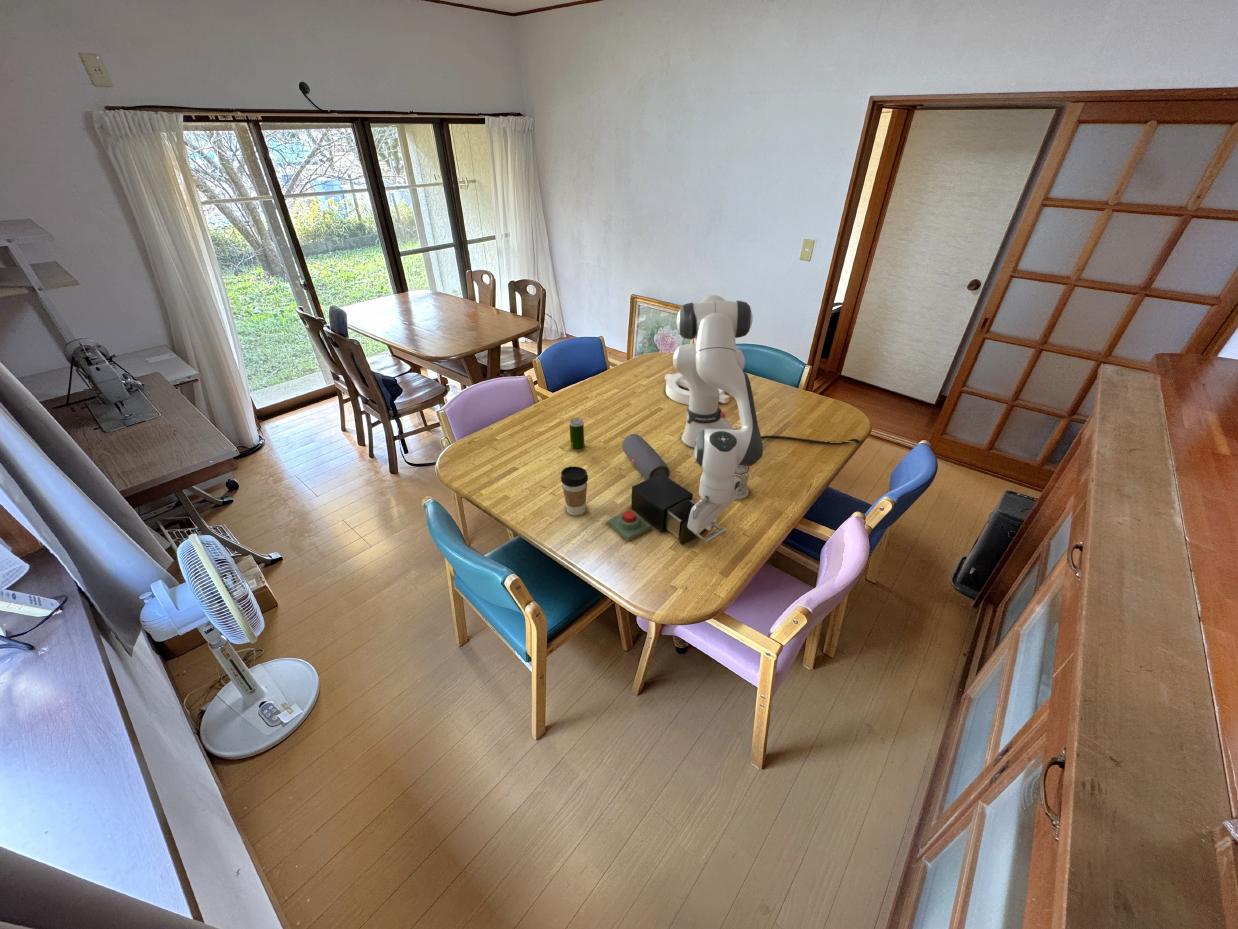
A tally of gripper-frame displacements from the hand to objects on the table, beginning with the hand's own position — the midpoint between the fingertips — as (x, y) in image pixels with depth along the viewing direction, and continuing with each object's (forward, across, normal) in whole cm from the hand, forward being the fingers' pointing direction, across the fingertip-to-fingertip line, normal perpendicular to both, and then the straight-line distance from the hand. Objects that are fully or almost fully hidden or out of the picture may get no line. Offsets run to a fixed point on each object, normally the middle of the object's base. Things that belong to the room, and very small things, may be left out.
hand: (710, 527), depth 138 cm
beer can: (+9, +14, +68) cm, 70 cm away
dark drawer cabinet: (+8, +4, +20) cm, 22 cm away
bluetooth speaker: (+8, +19, +39) cm, 44 cm away
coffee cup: (+8, -14, +42) cm, 44 cm away
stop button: (+5, -8, +23) cm, 25 cm away
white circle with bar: (+9, +86, +62) cm, 107 cm away
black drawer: (+7, +1, +7) cm, 10 cm away
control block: (+8, -8, +23) cm, 26 cm away
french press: (+8, +30, +9) cm, 32 cm away
